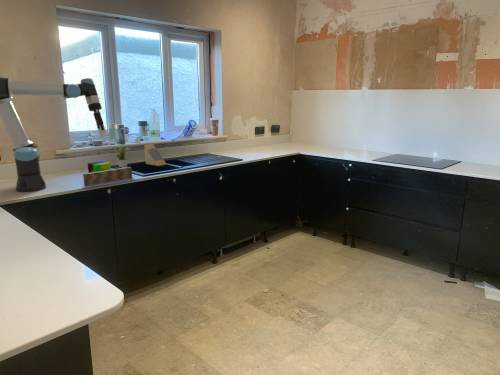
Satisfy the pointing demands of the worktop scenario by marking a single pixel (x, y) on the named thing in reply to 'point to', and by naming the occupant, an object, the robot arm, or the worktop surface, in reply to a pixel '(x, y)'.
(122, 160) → the house plant
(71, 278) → the worktop surface
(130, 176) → the walnut board
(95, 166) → the puzzle toy
